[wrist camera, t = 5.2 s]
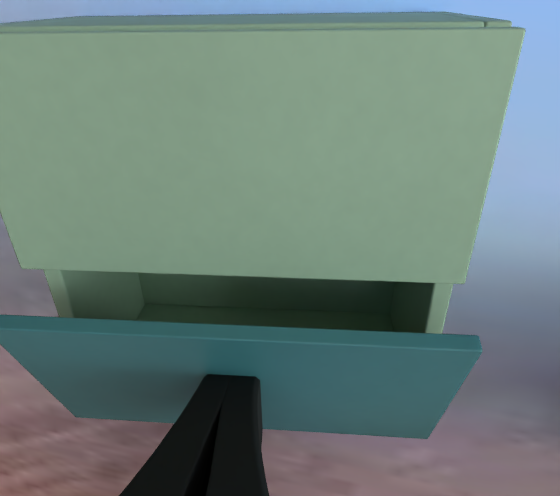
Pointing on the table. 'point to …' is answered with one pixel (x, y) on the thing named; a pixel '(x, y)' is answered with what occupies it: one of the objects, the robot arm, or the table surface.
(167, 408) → the lid
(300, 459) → the table surface
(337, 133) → the box
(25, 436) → the table surface
